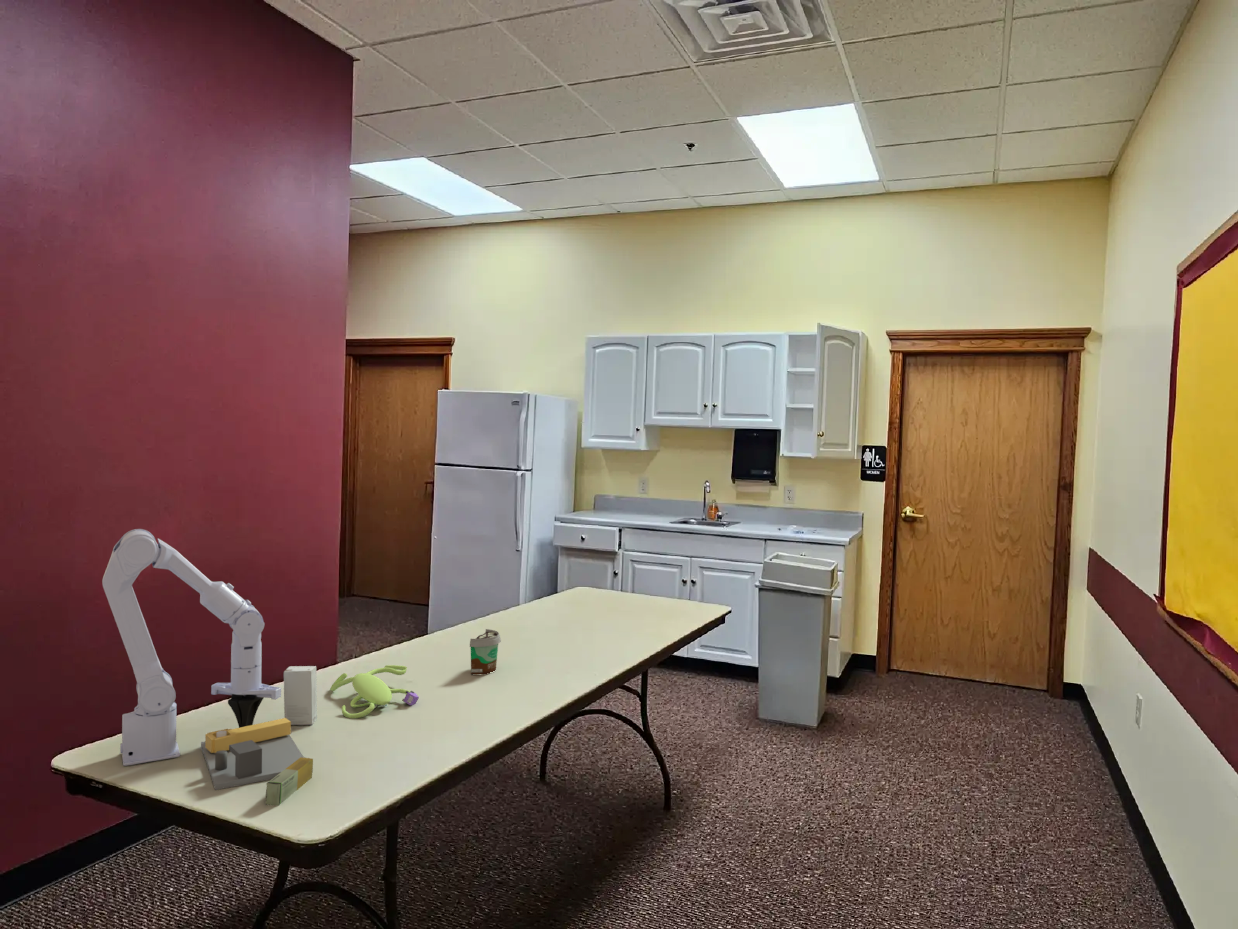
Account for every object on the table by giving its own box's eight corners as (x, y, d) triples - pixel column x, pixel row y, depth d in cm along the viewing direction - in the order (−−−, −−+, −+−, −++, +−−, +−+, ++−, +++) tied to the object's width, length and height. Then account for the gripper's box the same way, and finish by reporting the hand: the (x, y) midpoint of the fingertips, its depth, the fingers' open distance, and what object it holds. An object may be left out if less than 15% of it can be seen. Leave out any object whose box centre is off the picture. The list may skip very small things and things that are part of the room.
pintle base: (215, 790, 145) (215, 759, 145) (201, 747, 164) (201, 719, 164) (309, 771, 153) (309, 742, 153) (285, 733, 173) (285, 706, 173)
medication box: (279, 807, 139) (280, 784, 139) (264, 806, 140) (265, 782, 139) (313, 778, 151) (313, 757, 151) (299, 777, 152) (299, 756, 151)
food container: (490, 678, 215) (491, 640, 215) (468, 676, 216) (469, 639, 216) (506, 665, 227) (507, 630, 227) (485, 664, 228) (486, 628, 228)
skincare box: (317, 718, 182) (318, 665, 181) (312, 726, 177) (312, 670, 177) (289, 719, 181) (289, 665, 181) (282, 726, 177) (283, 671, 176)
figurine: (402, 680, 213) (402, 658, 213) (427, 711, 189) (427, 688, 189) (328, 688, 205) (328, 666, 204) (344, 722, 181) (344, 697, 181)
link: (212, 754, 157) (212, 740, 157) (204, 746, 161) (204, 733, 161) (292, 735, 168) (292, 723, 168) (283, 729, 171) (283, 716, 171)
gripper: (289, 662, 171) (289, 726, 171) (226, 657, 173) (226, 721, 173) (270, 672, 164) (269, 738, 164) (204, 667, 166) (204, 732, 167)
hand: (245, 730), depth 168 cm, fingers closed
